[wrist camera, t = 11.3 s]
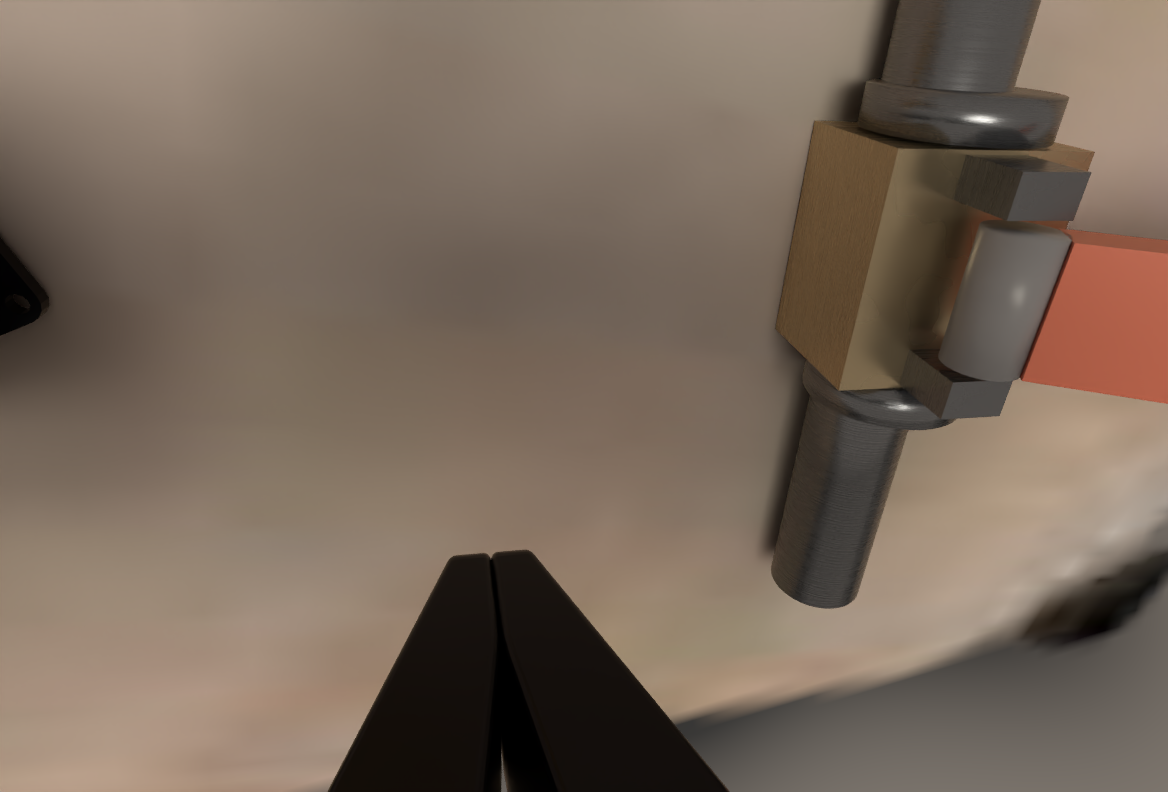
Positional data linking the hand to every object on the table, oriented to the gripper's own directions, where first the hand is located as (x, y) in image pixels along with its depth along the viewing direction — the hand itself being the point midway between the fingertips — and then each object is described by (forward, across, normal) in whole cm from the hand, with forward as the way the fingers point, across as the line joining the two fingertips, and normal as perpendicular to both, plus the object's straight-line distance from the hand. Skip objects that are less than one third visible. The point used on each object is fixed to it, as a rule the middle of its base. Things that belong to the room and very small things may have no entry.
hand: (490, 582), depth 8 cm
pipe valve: (+13, -12, 0) cm, 18 cm away
